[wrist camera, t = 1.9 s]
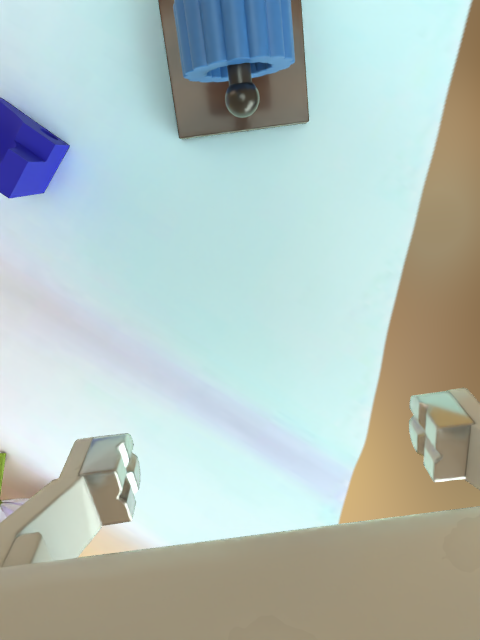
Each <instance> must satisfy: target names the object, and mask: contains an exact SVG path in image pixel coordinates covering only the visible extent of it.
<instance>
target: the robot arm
mask: <svg viewBox="0 0 480 640" xmlns="http://www.w3.org/2000/svg"><path fill="white" fill-rule="evenodd" d="M410 409H411V411H412V412H413V414H414V415H413V417H412V418H411V419H410V420H409V432H410V437H411V441H412V443H413V446H414V448H415V450H416V452H417V453H418V454H419V455H421V456H424V466H425V468H426V469H427V471H428V473H429V475H430V476H431V478H432V480H433V481H434V482H439V481H448V480H458V479H465V480H466V481H467V482H469V483H470V484H472V485H473V486H474V487H476V488H477V489H479V490H480V403H479V402H478V401H477V400H476V398H475V397H474V396H473V395H472V394H471V393H470V392H469V390H468V389H466V388H459V389H453V390H447V391H444V392H437V393H430V394H422V395H415V396H411V399H410ZM133 445H134V444H133V441H132V438H131V435H130V434H128V433H125V434H116V435H107V436H98V437H90V438H83V439H78V440H76V441H75V442H74V444H73V447H72V449H71V451H70V454H69V456H68V458H67V461H66V463H65V465H64V467H63V470H62V472H61V474H60V477H59V479H55V480H52V481H51V482H50V483H49V484H48V485H46V486H45V487H44V488H43V489H41V490H40V491H39V492H38V493H36V494H35V495H34V496H33V497H31V498H30V499H29V500H28V501H27V502H25V503H24V504H23V505H22V506H20V507H19V508H18V509H17V510H15V511H14V512H13V513H12V514H10V515H9V516H8V517H7V518H6V519H4V520H3V521H2V522H1V523H0V640H480V506H477V507H470V508H462V509H454V510H446V511H438V512H431V513H423V514H415V515H408V516H400V517H392V518H384V519H377V520H368V521H360V522H353V523H345V524H337V525H329V526H322V527H314V528H306V529H298V530H291V531H283V532H275V533H267V534H259V535H251V536H244V537H236V538H228V539H220V540H212V541H205V542H197V543H189V544H181V545H173V546H165V547H158V548H150V549H142V550H134V551H126V552H119V553H111V554H103V555H95V556H87V557H79V558H77V557H78V556H79V555H80V554H81V552H82V551H83V550H84V549H85V548H86V546H87V545H88V544H89V543H90V541H91V540H92V539H93V538H94V536H95V535H96V534H97V533H98V532H99V530H100V529H101V528H102V527H101V526H104V525H110V524H117V523H123V522H129V521H132V518H133V514H134V509H135V505H136V500H135V497H134V494H135V493H136V492H137V491H138V490H139V485H140V466H139V461H138V457H137V456H136V455H135V454H133V453H132V449H133Z"/></svg>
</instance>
